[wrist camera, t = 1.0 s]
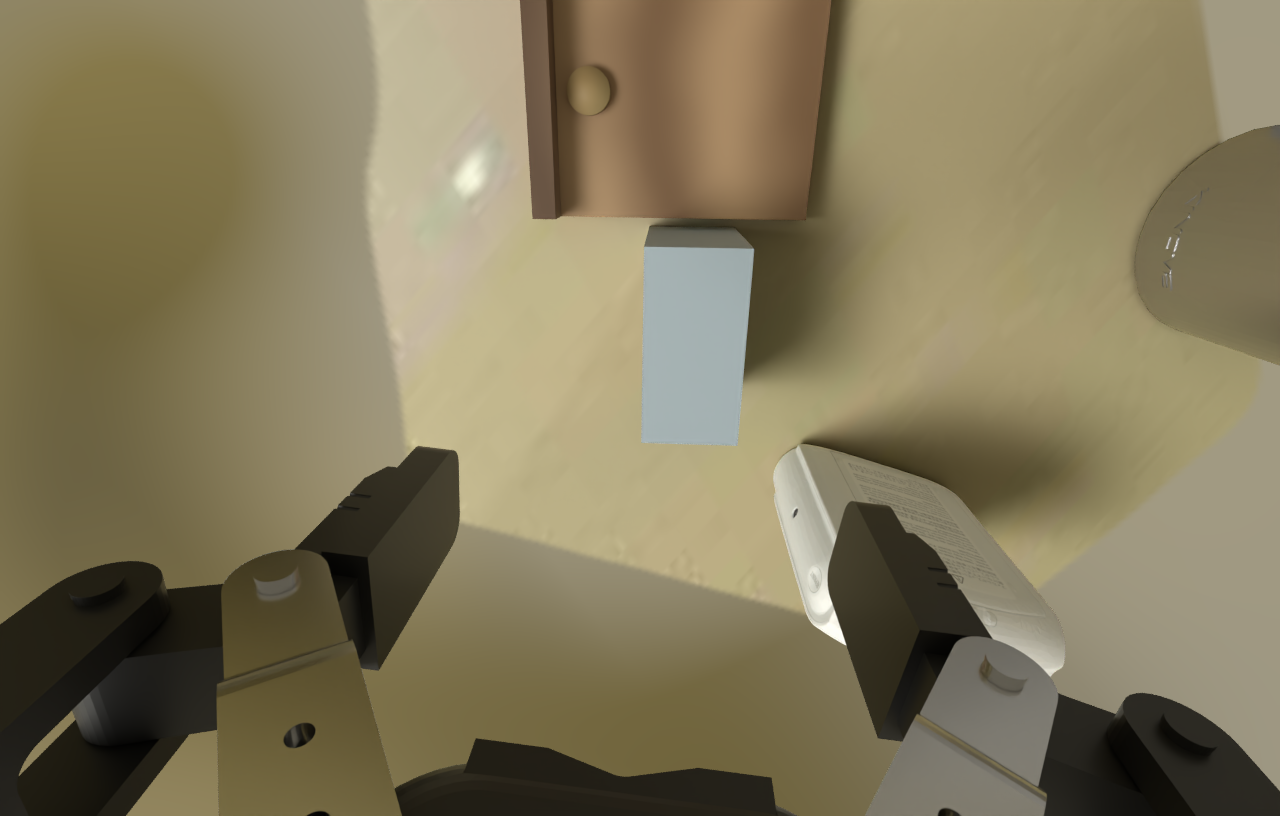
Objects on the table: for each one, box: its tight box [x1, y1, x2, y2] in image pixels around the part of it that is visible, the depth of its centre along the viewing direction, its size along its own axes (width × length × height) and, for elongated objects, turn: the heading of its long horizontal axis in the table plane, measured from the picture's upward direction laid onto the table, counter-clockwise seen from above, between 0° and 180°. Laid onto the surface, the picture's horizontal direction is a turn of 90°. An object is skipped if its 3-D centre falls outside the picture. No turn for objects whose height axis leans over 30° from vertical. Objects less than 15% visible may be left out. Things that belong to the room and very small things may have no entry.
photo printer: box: [773, 444, 1065, 677], centre depth 27 cm, size 10×4×12 cm, turn 73°
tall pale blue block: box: [641, 226, 754, 446], centre depth 26 cm, size 4×8×7 cm, turn 179°
